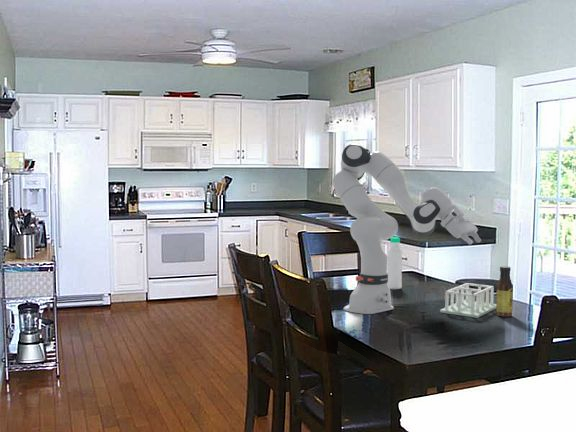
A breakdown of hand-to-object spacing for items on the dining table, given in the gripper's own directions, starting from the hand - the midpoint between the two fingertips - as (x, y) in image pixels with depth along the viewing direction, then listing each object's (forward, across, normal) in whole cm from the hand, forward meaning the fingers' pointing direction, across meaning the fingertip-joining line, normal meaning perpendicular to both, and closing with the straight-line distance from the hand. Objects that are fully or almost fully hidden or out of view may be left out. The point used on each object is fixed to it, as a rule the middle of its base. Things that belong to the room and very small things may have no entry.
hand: (475, 242), depth 268 cm
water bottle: (-15, -25, -54) cm, 61 cm away
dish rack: (+18, -2, -22) cm, 29 cm away
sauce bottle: (+29, 0, -12) cm, 32 cm away
